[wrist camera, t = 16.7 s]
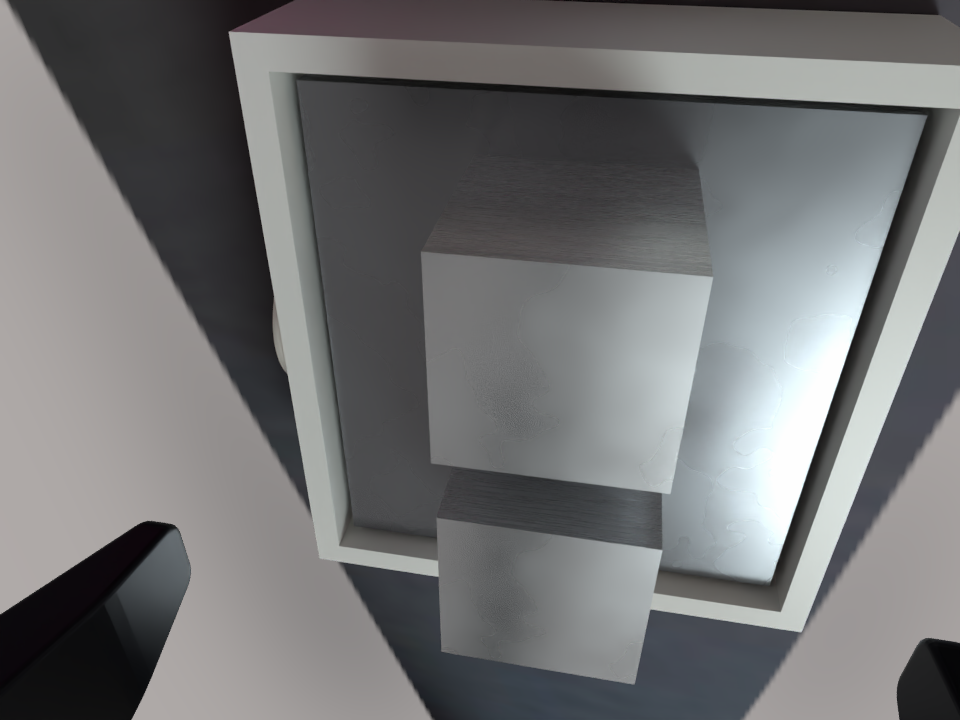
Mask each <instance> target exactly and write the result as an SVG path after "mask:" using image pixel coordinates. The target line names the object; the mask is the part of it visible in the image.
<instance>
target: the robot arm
mask: <svg viewBox="0 0 960 720" xmlns="http://www.w3.org/2000/svg"><path fill="white" fill-rule="evenodd" d="M190 575H191V567H190V562H189V559H188V556H187V553H186V550H185V547H184V544H183V540H182V537H181V534H180V531H179V530H178V528H177V527H176V526H175V525H173V524H168V523H161V522H154V521H146V522H143V523H140V524H138V525H137V526H135V527H134V528H132V529H130V530H129V531H127V532H126V533H124V534H123V535H121V536H120V537H118V538H117V539H115V540H114V541H112V542H111V543H109V544H107V545H106V546H104V547H103V548H101V549H100V550H98V551H97V552H95V553H94V554H92V555H91V556H89V557H88V558H86V559H85V560H83V561H81V562H80V563H79V564H77V565H75V566H74V567H72V568H71V569H69V570H68V571H66V572H65V573H63V574H62V575H60V576H58V577H57V578H55V579H54V580H52V581H51V582H49V583H48V584H46V585H45V586H43V587H42V588H40V589H39V590H37V591H36V592H34V593H32V594H31V595H29V596H28V597H26V598H25V599H23V600H22V601H20V602H19V603H17V604H16V605H14V606H13V607H11V608H9V609H8V610H6V611H5V612H3V613H2V614H0V720H131V719H132V718H133V716H134V714H135V712H136V710H137V708H138V705H139V704H140V701H141V700H142V697H143V695H144V693H145V691H146V689H147V686H148V684H149V682H150V679H151V677H152V675H153V672H154V669H155V667H156V665H157V662H158V660H159V657H160V654H161V652H162V650H163V647H164V645H165V642H166V640H167V637H168V635H169V632H170V629H171V627H172V625H173V622H174V619H175V617H176V615H177V612H178V610H179V607H180V605H181V602H182V600H183V597H184V595H185V592H186V590H187V587H188V584H189V581H190ZM897 703H898V712H899V719H900V720H960V643H957V642H952V641H945V640H939V639H932V638H925V639H923V640H922V641H920V642H919V644H918V645H917V647H916V648H915V650H914V652H913V654H912V656H911V658H910V660H909V662H908V663H907V665H906V667H905V669H904V671H903V672H902V674H901V676H900V679H899V681H898V686H897Z"/></svg>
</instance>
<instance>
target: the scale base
mask: <svg viewBox="0 0 960 720" xmlns="http://www.w3.org/2000/svg"><path fill="white" fill-rule="evenodd" d="M229 37H230V43H231V49H232V54H233V60H234V66H235V72H236V78H237V83H238V89H239V95H240V101H241V107H242V112H243V118H244V124H245V130H246V136H247V141H248V147H249V153H250V159H251V165H252V170H253V176H254V182H255V188H256V194H257V199H258V205H259V211H260V217H261V223H262V228H263V234H264V240H265V246H266V252H267V257H268V263H269V269H270V275H271V281H272V286H273V292H274V303H273V337H274V344H275V349H276V353H277V356H278V360H279V362H280V364H281V366H282V368H283V369H284V371H285V372H286V373H287V374H288V379H289V385H290V391H291V396H292V402H293V408H294V414H295V420H296V425H297V431H298V437H299V443H300V449H301V454H302V460H303V466H304V472H305V478H306V483H307V489H308V495H309V501H310V507H311V512H312V518H313V524H314V530H315V536H316V541H317V547H318V553H319V558H320V559H326V560H332V561H339V562H345V563H352V564H358V565H365V566H371V567H378V568H385V569H391V570H398V571H404V572H411V573H417V574H424V575H430V576H437V577H439V571H438V544H437V538H433V537H426V536H419V535H412V534H405V533H398V532H391V531H385V530H378V529H371V528H364V527H357V526H354V521H353V514H352V506H351V498H350V490H349V483H348V475H347V467H346V460H345V452H344V444H343V436H342V429H341V421H340V413H339V405H338V398H337V390H336V382H335V375H334V367H333V359H332V351H331V344H330V336H329V328H328V321H327V313H326V305H325V297H324V290H323V282H322V274H321V266H320V259H319V251H318V243H317V236H316V228H315V220H314V212H313V205H312V197H311V189H310V181H309V174H308V166H307V158H306V151H305V143H304V135H303V127H302V120H301V112H300V104H299V97H298V89H297V81H296V80H297V79H299V78H300V77H302V76H303V75H304V74H306V73H307V74H325V75H344V76H362V77H381V78H399V79H418V80H436V81H454V82H473V83H491V84H510V85H528V86H546V87H565V88H583V89H602V90H620V91H639V92H657V93H675V94H694V95H712V96H731V97H749V98H768V99H786V100H804V101H823V102H841V103H860V104H878V105H896V106H915V107H920V108H921V109H922V110H923V111H924V112H925V113H926V114H927V115H928V116H927V119H926V121H925V124H924V127H923V130H922V133H921V136H920V139H919V142H918V145H917V148H916V151H915V154H914V157H913V160H912V163H911V166H910V169H909V172H908V175H907V178H906V181H905V184H904V187H903V190H902V193H901V196H900V199H899V202H898V205H897V208H896V211H895V214H894V217H893V220H892V223H891V226H890V229H889V232H888V235H887V238H886V241H885V243H884V246H883V249H882V252H881V255H880V258H879V261H878V264H877V267H876V270H875V273H874V276H873V279H872V282H871V285H870V288H869V291H868V294H867V297H866V300H865V303H864V306H863V309H862V312H861V315H860V318H859V321H858V324H857V327H856V330H855V333H854V336H853V339H852V342H851V345H850V348H849V351H848V354H847V357H846V360H845V363H844V366H843V368H842V371H841V374H840V377H839V380H838V383H837V386H836V389H835V392H834V395H833V398H832V401H831V404H830V407H829V410H828V413H827V416H826V419H825V422H824V425H823V428H822V431H821V434H820V437H819V440H818V443H817V446H816V449H815V452H814V455H813V458H812V461H811V464H810V467H809V470H808V473H807V476H806V479H805V482H804V485H803V488H802V491H801V493H800V496H799V499H798V502H797V505H796V508H795V511H794V514H793V517H792V520H791V523H790V526H789V529H788V532H787V535H786V538H785V541H784V544H783V547H782V550H781V553H780V556H779V559H778V562H777V565H776V568H775V571H774V574H773V577H772V580H771V583H770V586H763V585H756V584H749V583H742V582H736V581H729V580H722V579H715V578H708V577H701V576H694V575H687V574H681V573H674V572H667V571H660V570H658V574H657V579H656V584H655V588H654V593H653V598H652V603H651V608H650V609H653V610H659V611H666V612H672V613H679V614H685V615H692V616H698V617H705V618H711V619H718V620H724V621H731V622H738V623H744V624H751V625H757V626H764V627H770V628H777V629H783V630H790V631H796V632H802V630H803V627H804V625H805V622H806V620H807V617H808V615H809V612H810V609H811V607H812V604H813V602H814V599H815V597H816V594H817V592H818V589H819V587H820V584H821V582H822V579H823V576H824V574H825V571H826V569H827V566H828V564H829V561H830V559H831V556H832V554H833V551H834V548H835V546H836V543H837V541H838V538H839V536H840V533H841V531H842V528H843V526H844V523H845V521H846V518H847V515H848V513H849V510H850V508H851V505H852V503H853V500H854V498H855V495H856V493H857V490H858V487H859V485H860V482H861V480H862V477H863V475H864V472H865V470H866V467H867V465H868V462H869V460H870V457H871V454H872V452H873V449H874V447H875V444H876V442H877V439H878V437H879V434H880V432H881V429H882V426H883V424H884V421H885V419H886V416H887V414H888V411H889V409H890V406H891V404H892V401H893V399H894V396H895V393H896V391H897V388H898V386H899V383H900V381H901V378H902V376H903V373H904V371H905V368H906V366H907V363H908V360H909V358H910V355H911V353H912V350H913V348H914V345H915V343H916V340H917V338H918V335H919V332H920V330H921V327H922V325H923V322H924V320H925V317H926V315H927V312H928V310H929V307H930V305H931V302H932V299H933V297H934V294H935V292H936V289H937V287H938V284H939V282H940V279H941V277H942V274H943V271H944V269H945V266H946V264H947V261H948V259H949V256H950V254H951V251H952V249H953V246H954V244H955V241H956V238H957V236H958V233H959V231H960V28H959V27H958V26H956V25H955V24H953V23H952V22H950V21H948V20H947V19H945V18H944V17H942V16H941V15H921V14H894V13H868V12H841V11H814V10H788V9H761V8H734V7H708V6H681V5H654V4H628V3H601V2H574V1H548V0H294V1H292V2H290V3H288V4H286V5H284V6H282V7H280V8H277V9H275V10H273V11H271V12H269V13H267V14H265V15H263V16H261V17H259V18H256V19H254V20H252V21H250V22H248V23H246V24H244V25H242V26H240V27H237V28H235V29H233V30H231V31H229Z"/></svg>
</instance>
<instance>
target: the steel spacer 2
mask: <svg viewBox="0 0 960 720" xmlns="http://www.w3.org/2000/svg"><path fill="white" fill-rule="evenodd" d="M437 544H438V571H439V597H440V624H441V650H442V652H446V653H451V654H457V655H463V656H469V657H475V658H481V659H487V660H493V661H499V662H505V663H510V664H516V665H522V666H528V667H534V668H540V669H546V670H552V671H558V672H564V673H570V674H575V675H581V676H587V677H593V678H599V679H605V680H611V681H617V682H623V683H629V684H635V679H636V674H637V670H638V665H639V660H640V655H641V651H642V646H643V641H644V636H645V631H646V627H647V622H648V617H649V612H650V608H651V603H652V598H653V593H654V588H655V584H656V579H657V574H658V569H659V565H660V560H661V555H662V493H657V492H650V491H642V490H634V489H626V488H618V487H611V486H603V485H595V484H587V483H580V482H572V481H564V480H556V479H548V478H541V477H533V476H525V475H517V474H510V473H502V472H494V471H486V470H479V469H471V468H463V467H455V466H453V467H452V470H451V473H450V477H449V480H448V483H447V486H446V489H445V492H444V496H443V499H442V502H441V505H440V508H439V512H438V515H437Z"/></svg>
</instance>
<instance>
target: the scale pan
mask: <svg viewBox="0 0 960 720" xmlns="http://www.w3.org/2000/svg"><path fill="white" fill-rule="evenodd" d="M296 81H297V89H298V97H299V104H300V112H301V120H302V127H303V135H304V143H305V151H306V158H307V166H308V174H309V181H310V189H311V197H312V205H313V212H314V220H315V228H316V236H317V243H318V251H319V259H320V266H321V274H322V282H323V290H324V297H325V305H326V313H327V321H328V328H329V336H330V344H331V351H332V359H333V367H334V375H335V382H336V390H337V398H338V405H339V413H340V421H341V429H342V436H343V444H344V452H345V460H346V467H347V475H348V483H349V490H350V498H351V506H352V514H353V521H354V526H357V527H364V528H371V529H378V530H385V531H391V532H398V533H405V534H412V535H419V536H426V537H433V538H437V515H438V512H439V508H440V505H441V502H442V499H443V496H444V492H445V489H446V486H447V483H448V480H449V477H450V473H451V470H452V467H453V466H447V465H440V464H432V463H431V452H430V431H429V410H428V389H427V368H426V347H425V326H424V305H423V284H422V263H421V251H422V249H423V247H424V245H425V243H426V242H427V240H428V238H429V236H430V234H431V233H432V231H433V229H434V227H435V225H436V223H437V222H438V220H439V218H440V216H441V214H442V213H443V211H444V209H445V207H446V205H447V204H448V202H449V200H450V198H451V196H452V194H453V193H454V191H455V189H456V187H457V185H458V184H459V182H460V180H461V178H462V176H463V174H464V173H465V171H466V169H467V167H468V165H469V164H470V162H471V160H472V158H473V156H474V154H476V155H491V156H507V157H522V158H537V159H552V160H567V161H582V162H598V163H613V164H628V165H643V166H658V167H673V168H689V169H699V175H700V182H701V189H702V197H703V204H704V212H705V219H706V226H707V234H708V241H709V248H710V256H711V263H712V271H713V281H712V286H711V291H710V296H709V301H708V307H707V312H706V317H705V322H704V327H703V332H702V337H701V342H700V347H699V352H698V357H697V362H696V367H695V372H694V377H693V382H692V387H691V392H690V397H689V402H688V408H687V413H686V418H685V423H684V428H683V433H682V438H681V443H680V448H679V453H678V458H677V463H676V468H675V473H674V478H673V483H672V488H671V493H670V494H665V493H662V555H661V560H660V565H659V569H658V570H660V571H667V572H674V573H681V574H687V575H694V576H701V577H708V578H715V579H722V580H729V581H736V582H742V583H749V584H756V585H763V586H770V583H771V580H772V577H773V574H774V571H775V568H776V565H777V562H778V559H779V556H780V553H781V550H782V547H783V544H784V541H785V538H786V535H787V532H788V529H789V526H790V523H791V520H792V517H793V514H794V511H795V508H796V505H797V502H798V499H799V496H800V493H801V491H802V488H803V485H804V482H805V479H806V476H807V473H808V470H809V467H810V464H811V461H812V458H813V455H814V452H815V449H816V446H817V443H818V440H819V437H820V434H821V431H822V428H823V425H824V422H825V419H826V416H827V413H828V410H829V407H830V404H831V401H832V398H833V395H834V392H835V389H836V386H837V383H838V380H839V377H840V374H841V371H842V368H843V366H844V363H845V360H846V357H847V354H848V351H849V348H850V345H851V342H852V339H853V336H854V333H855V330H856V327H857V324H858V321H859V318H860V315H861V312H862V309H863V306H864V303H865V300H866V297H867V294H868V291H869V288H870V285H871V282H872V279H873V276H874V273H875V270H876V267H877V264H878V261H879V258H880V255H881V252H882V249H883V246H884V243H885V241H886V238H887V235H888V232H889V229H890V226H891V223H892V220H893V217H894V214H895V211H896V208H897V205H898V202H899V199H900V196H901V193H902V190H903V187H904V184H905V181H906V178H907V175H908V172H909V169H910V166H911V163H912V160H913V157H914V154H915V151H916V148H917V145H918V142H919V139H920V136H921V133H922V130H923V127H924V124H925V121H926V119H927V116H928V115H927V114H926V113H925V112H924V111H923V110H922V109H921V108H920V107H915V106H896V105H878V104H860V103H841V102H823V101H804V100H786V99H768V98H749V97H731V96H712V95H694V94H675V93H657V92H639V91H620V90H602V89H583V88H565V87H546V86H528V85H510V84H491V83H473V82H454V81H436V80H418V79H399V78H381V77H362V76H344V75H325V74H307V73H306V74H304V75H303V76H302V77H300V78H299V79H297V80H296Z"/></svg>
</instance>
